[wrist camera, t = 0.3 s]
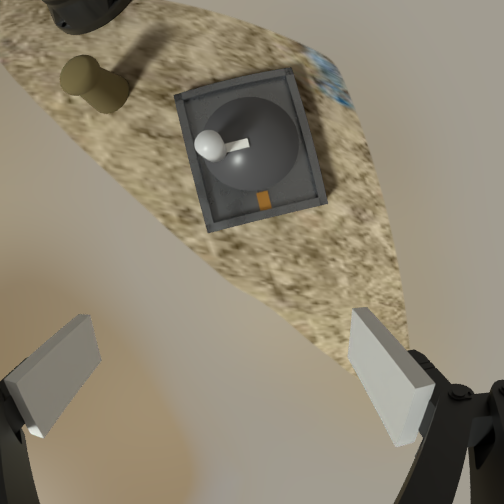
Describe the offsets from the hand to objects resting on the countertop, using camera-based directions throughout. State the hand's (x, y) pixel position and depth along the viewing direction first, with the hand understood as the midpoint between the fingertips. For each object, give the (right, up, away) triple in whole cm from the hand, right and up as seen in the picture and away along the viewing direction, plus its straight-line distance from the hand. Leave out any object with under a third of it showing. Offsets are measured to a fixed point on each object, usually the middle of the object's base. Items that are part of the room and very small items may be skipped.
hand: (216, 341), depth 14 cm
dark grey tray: (+1, +17, +24) cm, 29 cm away
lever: (+1, +17, +22) cm, 27 cm away
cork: (-18, +27, +22) cm, 39 cm away
